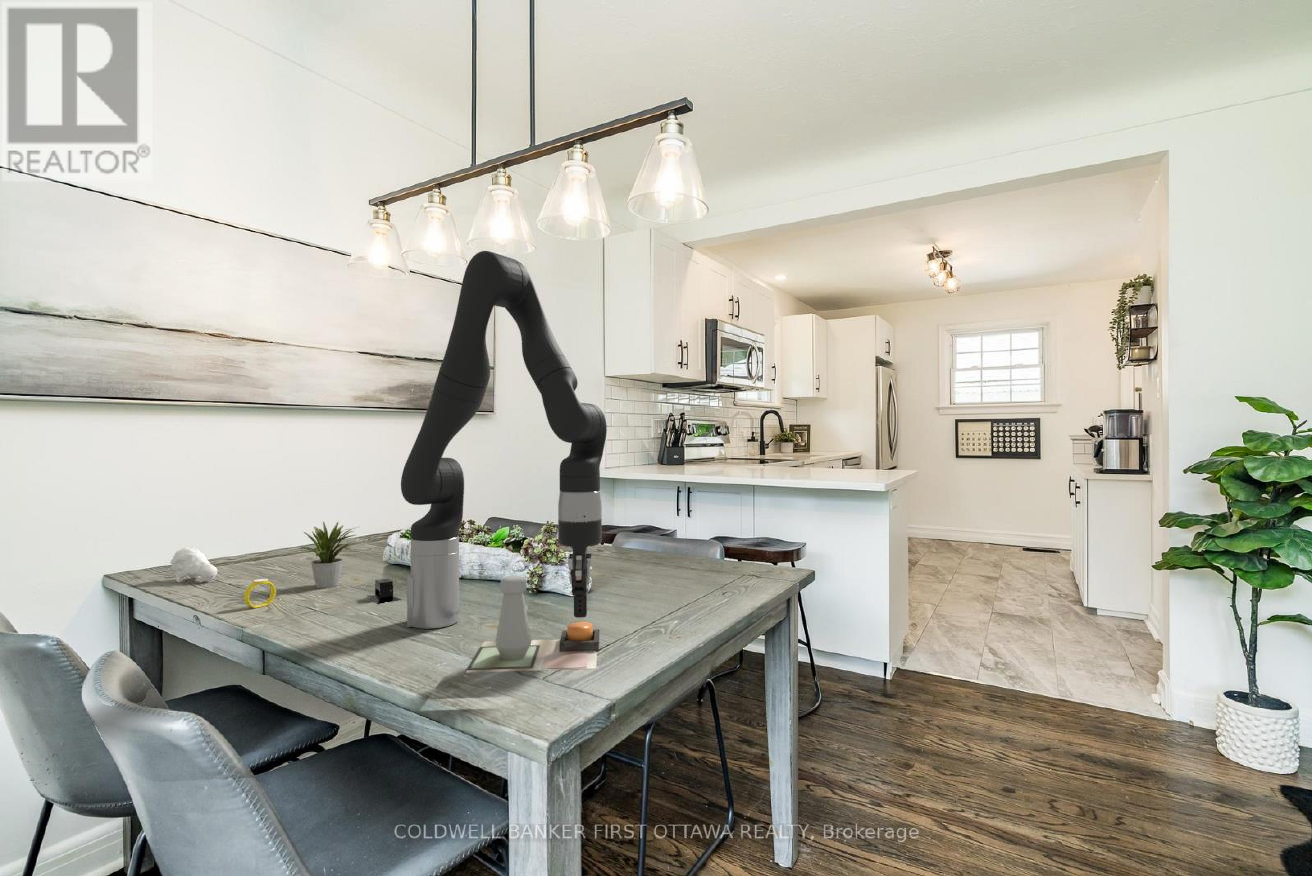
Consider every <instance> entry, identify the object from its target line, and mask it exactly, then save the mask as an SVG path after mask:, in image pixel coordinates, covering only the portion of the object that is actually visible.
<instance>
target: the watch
mask: <svg viewBox="0 0 1312 876" xmlns="http://www.w3.org/2000/svg"><path fill="white" fill-rule="evenodd" d="M265 584H267V585H268V586H269V588H270V595H269V597H268V599H267V600H266V601H265V602H264V603H259V604H257V605H253V604H252V603H251V601H250V594H251V592H252V590H253V589H254V588H255V587H256V586H258V585H265ZM276 592H277V591H276V587H275V585H274V584H273V583H272V582H270V581H269V579H267V578H258V579H253V581H252V583H250V584H249V585H248V587H247V588H246V590H245V592H244V594H243V595H244V597H243V600H244V602H245V605H247V606H248V607H250V608H252V609H257V608H261V607H266V606H270V605H271V604H272V602H273V601H274V599H275V597H276V595H277V594H276Z"/></svg>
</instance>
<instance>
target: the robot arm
mask: <svg viewBox="0 0 1312 876" xmlns="http://www.w3.org/2000/svg"><path fill="white" fill-rule="evenodd" d="M526 267H527V266H525V265H524V264H523V263H522V262H520V261H519V260H516V259H514V258H512V257H508V256H505V255H502V254H499V253H496V252H493V251H491V250H490V251H489V250H481V251H478V252H477V253H475V254H474V255H473V256H472V258H470V260H469V262H468V264H467V266H466V268H465V271H464V274H463V278H462V282H461V287H460V290H459V291H460V292H459V298H458V302H457V307H456V312H455V315H454V319H453V320H454V321H453V325H452V329H451V332H450V335H449V339H448V342H447V346H446V350H445V352H444V356H443V359H442V362H441V363H440V367H439V370H438V373H437V376H436V378H435V379H436V380H435V383H434V387H433V390H432V394H431V398H430V401H429V404H428V406H427V409H426V412H425V416H424V418H423V421H422V423H421V426H420V429H419V432H418V434H417V437H416V439H415V441H414V444H413V445H412V448H411V450H410V452H409V454H408V457H407V459H406V462H405V463H404V467H403V470H402V473H401V477H400V490H401V495H402V497H403V499H404V501H406V502H407V503H408V504H410V505H414V506H422V505H423V506H426V505H430V507H429V508H430V509H429V510H428V511H427V513H426V514H425V515H424V516H423V517H421V518H420V519H418V520H417V521H415V522H413V523H412V524H411V525H410V576H408V577H407V579H406V626H407V627H408V628H409V627H410V628H411V627H412V628H416V629H426V630H428V629H438V628H443V627H448V626H452V625H454V624H457V623H458V622H459V620H460V528H461V524H462V522H463V517H464V516H463V515H464V499H465V498H464V497H465V496H464V495H465V475H464V471H463V468H462V466H461V465H460V463H459V462H458V460H456V459H455V458H453V457H443V455H444V454H445V450H446V449H447V447H448V445H449V444H450V442H451V441H452V440H453V439H454V438H455V436H456V435H457V434H459V432H460V431H461V430H462V429H463V428H464V427H466V425H467V424H468V423H469V422H470V421H471V420H472V418H473V417H474V416H475V415H476V413H478V411H479V409H480V407H481V405H482V403H483V400H484V397H485V394H486V391H487V388H488V386H489V381H490V379H491V378H490V377H491V366H490V359H489V354H488V349H487V342H486V339H487V338H486V337H487V336H486V335H487V328H488V324H489V321H490V318H491V314H492V311H493V310H494V309H493V308H494V307H500V308H505V310H506V311H507V312H508V313H509V315H510V316H511V317H512V319H513V320H514V322H515V324H516V325H517V328H518V330H519V333H520V339H521V353H522V358H523V361H524V366H525V368H526V370H527V373H528V374H529V375H530V378H531V379H532V381H533V383H534V385H535V386H536V388H537V390H538V392H539V393H540V395H541V399H542V405H543V407H544V412H545V416H546V420H547V421H548V424H549V426H550V429H551V430H552V432H553V433H554V435H555V436H556V437H557V438H558V439H559V440H561V441H562V442H565V443H567V444H568V443H569V444H571V445H570V452H569V454H568V456H567V457H565V458H564V459H562V460H561V462H560V465H559V492H558V493H559V494H558V497H559V498H558V503H557V504H558V505H557V512H558V513H557V516H558V518H557V521H558V522H557V523H558V524H557V525H558V526H557V527H558V528H557V529H558V530H557V531H558V532H557V533H558V534H557V538H558V539H557V540H558V541H557V542H558V544H559V545H560V546H563V547H565V548H566V547H571V548H572V553H569V554H568V557H567V565H568V568H569V582H570V584H571V594H572V596H573V616H574V618H577V619H579V618H586V617H587V616H588V615H587V614H588V594H589V583H590V581H591V568H592V567H591V566H592V561H593V559H592V558H593V555H592V554H593V553H591V552H589V553H588V547H594V546H598V545H600V544H601V543H602V537H603V536H602V534H603V532H602V529H603V527H602V514H603V513H602V499H601V474H600V473H601V471H600V465H601V462H602V458H603V454H604V450H605V449H604V448H605V445H606V444H605V443H606V438H607V434H608V433H607V431H608V429H607V420H606V416H605V414H604V412H603V410H602V409H601V408H600V407H599V406H597V405H596V404H593V403H587V402H586V403H585V402H580V400H579V398H578V397H577V394H576V392H575V391H576V389H577V387H578V378H577V376H576V374H575V372H574V370H573V368H572V366H571V364H570V362H569V361H568V359H567V358H566V356H565V354H564V352H563V351H562V349H561V347H560V345H559V343H558V342H557V340H556V338H555V336H554V334H553V332H552V329H551V327H550V324H549V322H548V319H547V317H546V315H545V311H544V308H543V305H542V304H541V301H540V298H539V295H538V292H537V290H536V288H535V285H534V282H533V279H532V277H531V274H530V272H529V271H528V268H526Z"/></svg>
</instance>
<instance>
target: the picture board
mask: <svg viewBox="0 0 1312 876" xmlns="http://www.w3.org/2000/svg"><path fill="white" fill-rule="evenodd" d="M495 641H496V640H494V641H493V640H492V641H490V640H489V641H483V643H482V645H480V647H479V648H478V650H477V651H476V653H475V655H474V656H473V658H472V660H471V661H470V662H469V665H468V666H467V668H466V671H465V674H469V673H470V674H471V673H499V672H528V671H529V672H530V671H531V672H533V671H535V672H536V671H561V670H562V671H563V670H564V671H565V670H570V671H571V670H592V669H593V670H594V669H597V659H598V658H597V655H598V652H600V650H599V649H600V629H593V638H592V639H590V640H587V641H570V640H568V639H567V630H562V631H561V635H560V639H533V640H532V639H531V645H530V647H529V649H528V651H527V653H526V655H525V657H524V658H521V659H518V660H503V658H502V657H501V656H500V653H499V651H498V650H497V648H496V642H495Z"/></svg>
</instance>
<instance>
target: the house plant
mask: <svg viewBox="0 0 1312 876" xmlns="http://www.w3.org/2000/svg"><path fill="white" fill-rule="evenodd" d="M338 525H339V521H336V524H335V525H334V526H333V528H332V530H331V532H330V534H329V532H328V528H327V527H326V524H325V521H322V526H323V530H322V528H318V527H316V526H313V528H314V531H311V533H312V535H313V536H312V535H310V534H309V533H307V532H305V531H302V533H303V534H304V535H306V536H307V537H308V538H309V539H310V540H311V541H312V542H313V543H314V545H315V547H314V548H311V547H309V546H301V547H299V548H298V550H299V549H300V550H302V549H304V550H309V551H312V552H313V553H314V554H315V558H317V557H318V558H319V559H315V560H312V561H311V563H310V565H311V569H312V574H313V579H314V584H315V588H317V589H328V588H335V587H338V586H339V585H340V580H341V574H342V569H343V561H344V559H343V558H340V557H338V558H337V556H338V555H339V554H340V552H342V551H343V549H346V550H349V551H350V552H352V550H351V547H352V548H353V546H351V545H350V544H351V543H352V541H349V542H347V543H341V542H342V541H344V540H345V539H347V538H351V537H354V536H356V534H350V533H352V532H354V530H353V529H357V528H359V526H356V527H352V528H346V529H344V530H342V528H344V526H345V525H343V524H342V525H341V526H338ZM349 534H350V535H349ZM353 542H354V543H355V542H356V541H355V540H354V541H353ZM335 545H336V546H335ZM349 547H350V548H349ZM337 585H338V586H337ZM334 586H335V587H334Z"/></svg>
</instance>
